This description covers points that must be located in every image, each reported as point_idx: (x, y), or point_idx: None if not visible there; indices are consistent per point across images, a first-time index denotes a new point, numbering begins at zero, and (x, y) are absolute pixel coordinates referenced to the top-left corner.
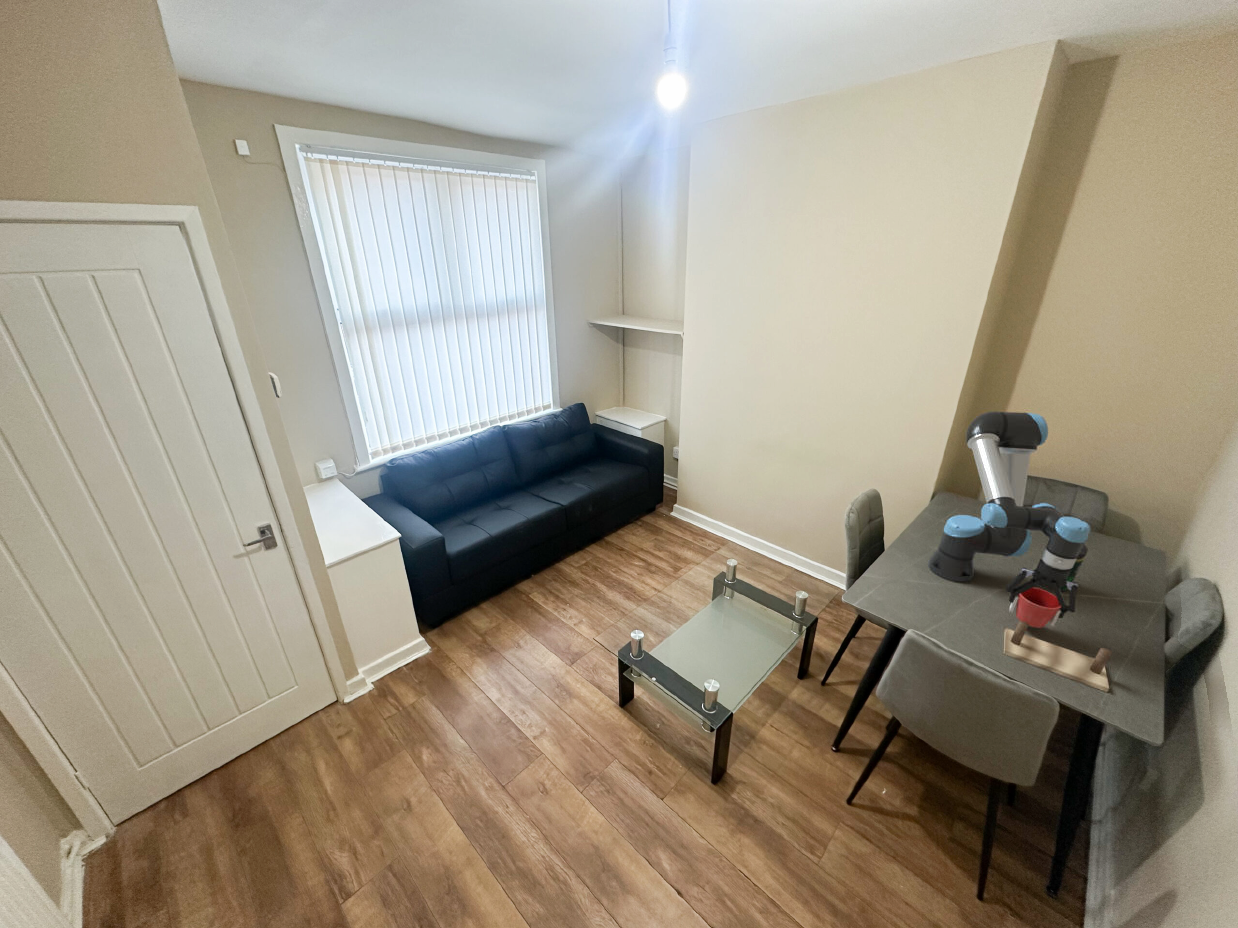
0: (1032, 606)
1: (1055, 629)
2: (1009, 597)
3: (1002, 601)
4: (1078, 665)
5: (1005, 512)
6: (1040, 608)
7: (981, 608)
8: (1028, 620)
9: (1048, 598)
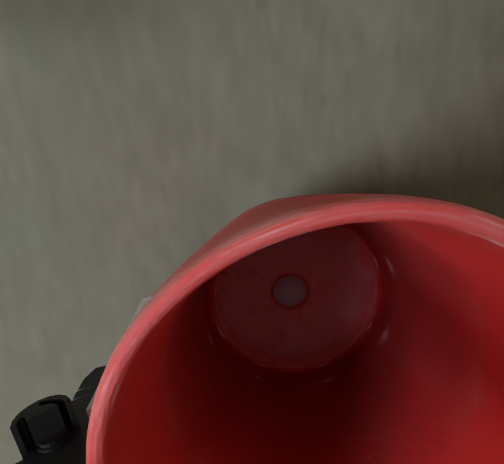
0: None
1: (422, 141)
2: (81, 387)
3: (89, 60)
4: None
5: None
6: None
7: (26, 270)
8: (293, 406)
9: (432, 231)
